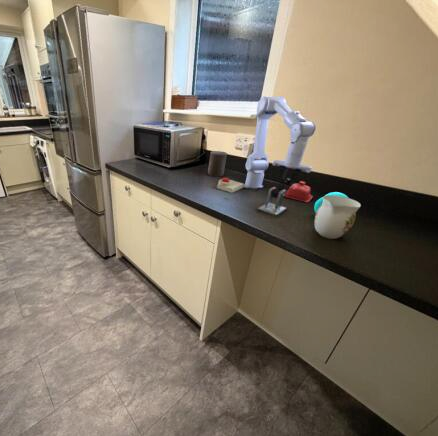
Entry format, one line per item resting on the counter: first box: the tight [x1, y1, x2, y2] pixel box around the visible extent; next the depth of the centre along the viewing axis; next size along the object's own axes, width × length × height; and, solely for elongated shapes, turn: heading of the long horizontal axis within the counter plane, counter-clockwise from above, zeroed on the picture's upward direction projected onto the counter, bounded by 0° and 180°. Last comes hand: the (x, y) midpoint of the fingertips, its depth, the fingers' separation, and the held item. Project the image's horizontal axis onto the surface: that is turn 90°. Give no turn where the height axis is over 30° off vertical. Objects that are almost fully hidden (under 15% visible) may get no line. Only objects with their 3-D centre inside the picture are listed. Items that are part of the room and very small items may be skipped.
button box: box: [216, 178, 245, 194], centre depth 126 cm, size 12×10×4 cm
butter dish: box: [284, 180, 314, 203], centre depth 113 cm, size 12×12×8 cm
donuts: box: [313, 191, 349, 214], centre depth 95 cm, size 10×10×10 cm
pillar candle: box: [207, 150, 228, 178], centre depth 144 cm, size 10×10×15 cm
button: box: [221, 177, 230, 182], centre depth 124 cm, size 4×4×2 cm
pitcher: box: [313, 195, 362, 240], centre depth 83 cm, size 11×18×14 cm, turn 127°
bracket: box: [257, 186, 287, 216], centre depth 100 cm, size 10×8×10 cm
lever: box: [272, 177, 291, 199], centre depth 100 cm, size 12×3×3 cm, turn 131°
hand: (285, 184), depth 102 cm, fingers closed on lever, 3 cm apart
